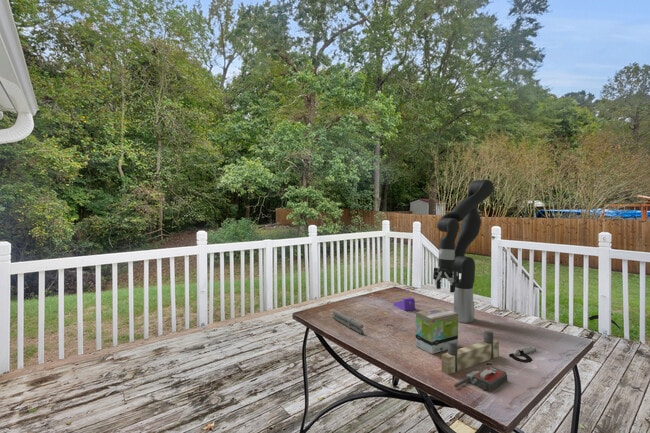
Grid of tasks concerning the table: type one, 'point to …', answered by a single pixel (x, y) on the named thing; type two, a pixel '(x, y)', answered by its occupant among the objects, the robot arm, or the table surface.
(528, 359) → the micrometer
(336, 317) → the metal rod assembly
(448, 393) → the table surface
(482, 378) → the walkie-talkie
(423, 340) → the tea box
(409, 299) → the bracket
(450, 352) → the bench stop
